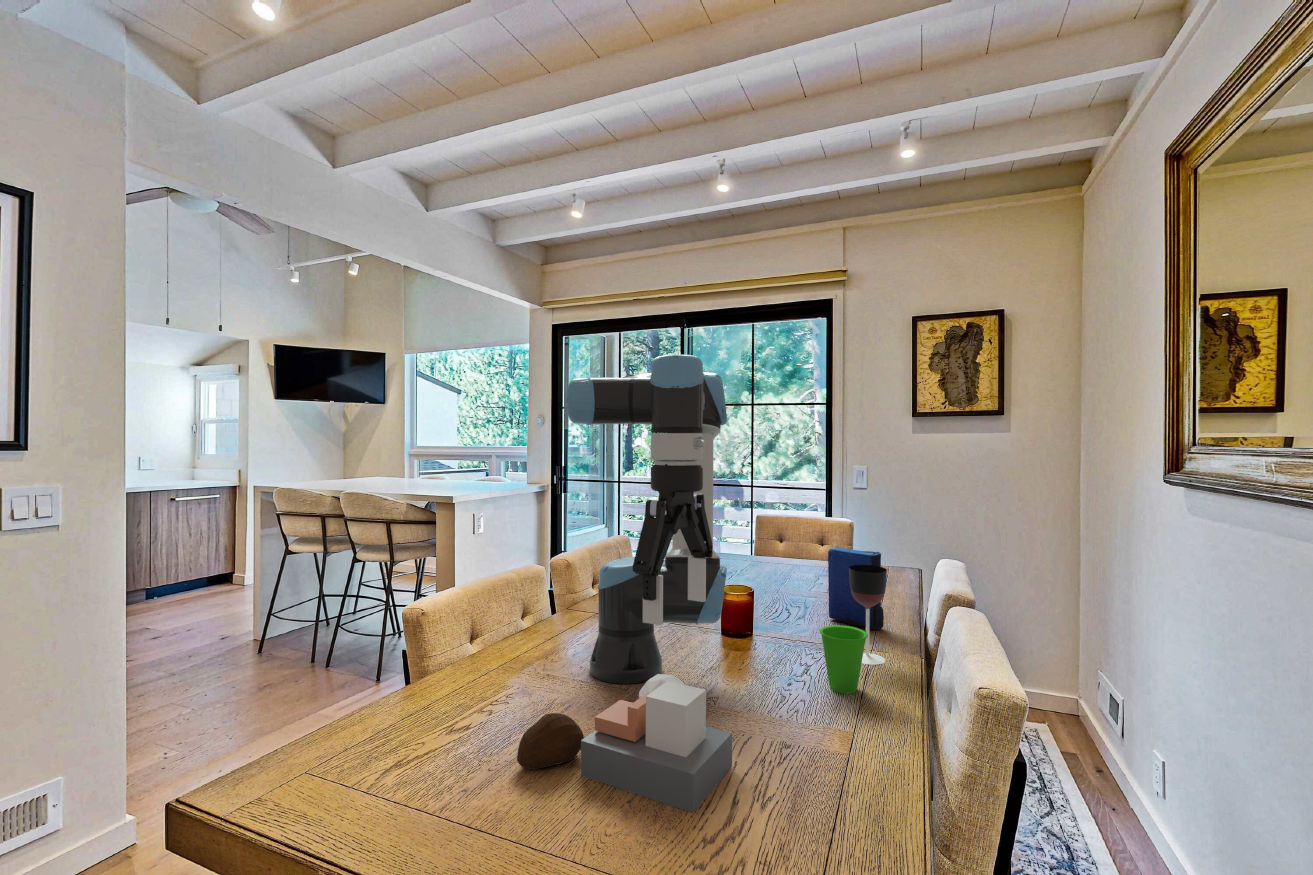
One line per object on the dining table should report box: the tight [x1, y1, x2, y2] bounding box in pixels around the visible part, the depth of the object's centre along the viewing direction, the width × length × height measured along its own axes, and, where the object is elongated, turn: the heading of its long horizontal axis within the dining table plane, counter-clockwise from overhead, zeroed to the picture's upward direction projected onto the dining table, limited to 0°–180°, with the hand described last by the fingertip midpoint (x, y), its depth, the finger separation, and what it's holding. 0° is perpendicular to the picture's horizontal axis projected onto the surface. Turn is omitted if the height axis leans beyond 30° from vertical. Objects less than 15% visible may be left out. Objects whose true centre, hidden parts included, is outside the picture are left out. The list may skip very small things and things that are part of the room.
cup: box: [819, 624, 868, 695], centre depth 120 cm, size 9×9×11 cm
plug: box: [646, 681, 707, 757], centre depth 88 cm, size 6×6×11 cm
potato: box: [516, 712, 585, 770], centre depth 92 cm, size 7×10×7 cm
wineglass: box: [849, 565, 888, 666], centre depth 136 cm, size 8×9×20 cm
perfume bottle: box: [638, 673, 686, 699], centre depth 102 cm, size 9×9×12 cm
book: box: [827, 546, 885, 630], centre depth 162 cm, size 14×5×20 cm, turn 42°
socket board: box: [580, 726, 733, 814], centre depth 89 cm, size 18×13×5 cm
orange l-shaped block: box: [594, 692, 651, 742], centre depth 92 cm, size 7×7×4 cm
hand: (676, 611), depth 88 cm, fingers open, 13 cm apart
